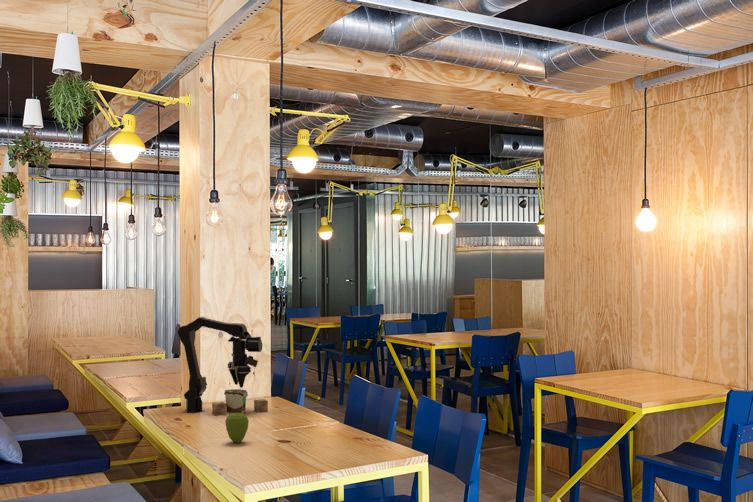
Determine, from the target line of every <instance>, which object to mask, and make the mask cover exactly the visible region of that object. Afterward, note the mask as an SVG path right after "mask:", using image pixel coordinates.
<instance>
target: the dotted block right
mask: <svg viewBox="0 0 753 502" xmlns="http://www.w3.org/2000/svg"><path fill="white" fill-rule="evenodd" d="M253 411H254V412H255V413H267V412H268V411H269V401H268V400H267V399H265V398H262V399H261V398H260V399H254V400H253Z"/></svg>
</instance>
